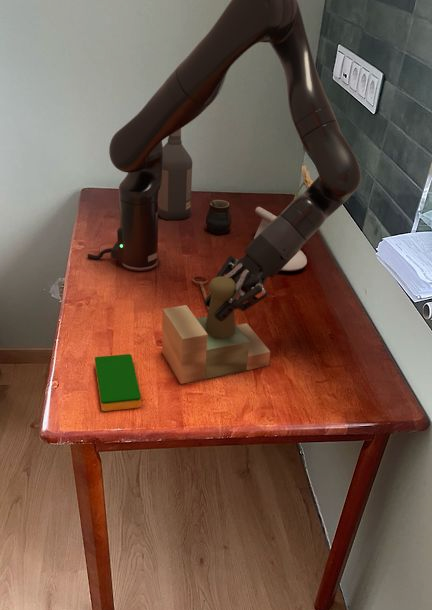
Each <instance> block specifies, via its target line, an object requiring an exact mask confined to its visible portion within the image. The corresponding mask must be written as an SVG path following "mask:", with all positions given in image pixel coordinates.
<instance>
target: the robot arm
mask: <svg viewBox="0 0 432 610" xmlns="http://www.w3.org/2000/svg"><path fill="white" fill-rule="evenodd" d="M259 43H268V44H269V45H270V46H271V48H272V50H273V51H274V53H275V55H276V56H277V58H278V60H279V63H280V65H281V68H282V70H283V75H284V79H285V88H286V101H287V107H288V112H289V115H290V118H291V120H292V123H293V126H294V128H295V130H296V133H297V135H298V137H299V139H300V141H301V143H302V145H303V148H304V150H305V151H306V152H307V153H308V154H309V155H310V157H311V160H312V161H313V164H314V166H315V169H316V171H317V174H318V176H317V177H316V178H315V180H313V183H312V184H311V185H310V186H309V187H308V189H306V190H305V191H304V192H303V193H302V194H300V195H298V197H297V198H296V199H294V198H293V200H292V201H291V202H290V203H289V204H288V205H287V206H286V207H285V208H284V209H283V210H282V212H280V214H279V215H277V216H276V217H277V218H275V219H274V220H273V221H272V222H270V223H269V224H268V225H267V226H266V228H265V229H264V230H263V231H262V232H261V233H260V234H259V235H258V236H257V237H256V238H255V239H254V238H253V240H252V241H251V242H250V243H249V244H248V245H247V247H245V249H244V253H245V255H244V256H243V257H241V258H239V259H237V258H235V256H233V255H231V254H230V255H229V256H228V257H227V258H226V260H225V262H224V263H223V265H222V267H221V268H220V269H219V271H218V272H217V274H216V276H215V277H214V278H216V277H220V276H225V277H229V278H231V279H232V280H234V282H235V284H236V285H235V288H234V294H233V295H232V296H231V297H230V298H229V299H228V302H227V301H226V302H225V303H224V304H223V305H222V306H221V307H220V308H219V309H218V310H217V311H216V312H215V313H214V317H215V318H216V319H218V320H219V321H223V320H225V319H226V318H227V317H228V316H229V315H230V314H231V313H232V312H233V311H234V312H235V310H240V311H241V312H246V311H247V310H248V309H250V308H251V307H253V306H255V305H256V304H258V303H259V302H260V301H262V300H264V299H265V298H267V297H268V294H269V293H268V292H267V291H266V290H265V288H264V285H265V283H266V281H267V280H268V278H271V279H272V278H274V277H275V276H277V274H279V272H280V271H282V270H281V269H282V268H283V267H284V266H285V265H286V264H287V263H288V262H289V261H290V260H291V259H292V258H293V257H294V256H295V255H296V254H297V253H298V251H299V250H301V249H302V248H303V246H304V245H305V244H306V242H308V240H310V239H311V237H313V235H315V233H316V232H317V231H318V230H319V229H320V228H321V227H322V225H324V223H325V222H326V220H327V219H328V218H329V217H330V216H332V215H333V214H334V213H335V212H336V211H337V210H338V209H339V208H340V207H341V206H342V205H344V203H345V202H347V201H348V199H350V198H351V196H353V195H354V194H355V192H356V191H357V190H358V188H359V186H360V184H361V181H362V171H361V166H360V164H359V161H358V160H357V157H356V155H355V153H354V152H353V150H352V148H351V146H350V144H349V143H348V141H347V139H346V138H345V136H344V135H343V133H342V131H341V128H340V125H339V122H338V120H337V117H336V115H335V113H334V110H333V108H332V106H331V104H330V101H329V99H328V97H327V94H326V91H325V90H324V86H323V85H322V81H321V79H320V75H319V73H318V70H317V66H316V64H315V60H314V57H313V53H312V50H311V49H312V48H311V46H310V43H309V39H308V34H307V31H306V28H305V24H304V19H303V15H302V11H301V8H300V5H299V2H298V0H230V2H229V3H228V5H227V6H226V7H225V9H224V10H223V12H222V13H221V15H220V16H219V18H218V19H217V21H216V22H215V23H214V25H213V26H212V27H211V28H210V30H209V31H208V33H207V34H206V35H205V36H204V37H203V38H202V39H201V40H200V41H199V42H198V44H197V45H196V46H195V47H194V48H193V49H192V51H191V52H190V53H189V54H188V55H187V56H186V57H185V59H184V60H183V61H181V62H180V64H179V65H178V66H177V67H176V68H175V69H174V70H173V72H172V73H171V74H170V75H169V76H168V77H167V79H166V80H165V81H164V82H163V84H162V85H161V86H159V88H158V89H157V90H156V91H155V93H154V94H153V95H152V96H151V98H150V99H149V100H148V101H147V102H146V104H145V105H144V106H143V107H142V109H141V110H140V111H139V112H138V113H136V115H135V116H134V117H133V118H131V119H130V120H129V121H128V122H127V123H126V124H124V126H122V127H121V128H120V129H119V130H117V131H116V133H114V135H113V136H112V138H111V140H110V143H109V148H108V149H109V151H108V155H109V159H110V161H111V164H112V165H113V166H114V167H115V168H116V169H117V171H118V170H119V171H120V172H123V173H127V174H126V176H125V177H124V179H122V181H121V182H120V183H119V185H118V209H119V210H118V211H119V227H118V228H117V230H116V236H117V237H116V238H117V241H116V243H115V244H114V245H113V246H112V247H111V248H105V249H103V250H101V251H100V252H99V253H98V254H97V255H96V254H90V253H88V254H87V259H90V260H91V259H92V260H101V259H102V258H103V256H104V255H105V254H109V253H110V258H111V259H114V260H117V262H118V266H119V267H123V268H124V269H126V270H128V271H132V272H147V271H151V270H153V269H156V268H157V267H158V265H159V213H158V192H159V189H160V187H161V182H162V168H163V147H164V145H163V141H164V140H165V139H166V138H169V135H171V134H173V133H174V132H176V131H178V130H179V129H181V130H182V129H183V128H184V127H185V126H187V125H188V124H190V123H191V122H193V121H194V120H195V119H197V118H198V117H199V116H200V115H201V114H202V113H203V112H204V111H205V110H206V109H207V108H208V107H209V106H210V105H211V104H213V102H214V101H215V100H216V99H217V97H218V96H219V95H220V93H221V91H222V89H223V86H224V83H225V81H226V77H227V74H228V72H229V70H230V68H231V67H232V66H233V65H234V64H235V63H236V61H238V59H239V58H241V57H242V56H243V55H244V54H245V53H246V52H247V51H248V50H250V49H251V48H252V47H253V46H255V45H257V44H259ZM210 300H211V295H210V294H209V295H207V298H206V300H205V299H204V301H203V303H204V305H205V306H206V307H207V306H208V307H209V305H210Z"/></svg>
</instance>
